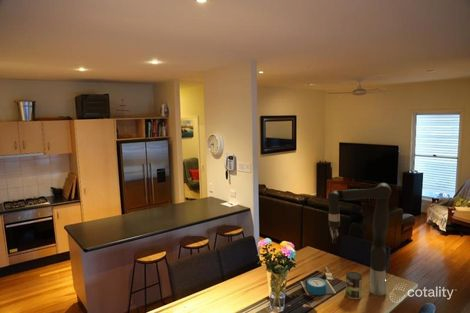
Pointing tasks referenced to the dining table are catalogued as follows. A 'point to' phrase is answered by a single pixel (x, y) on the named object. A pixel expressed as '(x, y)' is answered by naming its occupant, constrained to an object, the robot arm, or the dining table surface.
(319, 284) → the alarm clock
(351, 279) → the coffee can
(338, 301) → the dining table surface
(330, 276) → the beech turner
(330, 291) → the mat
